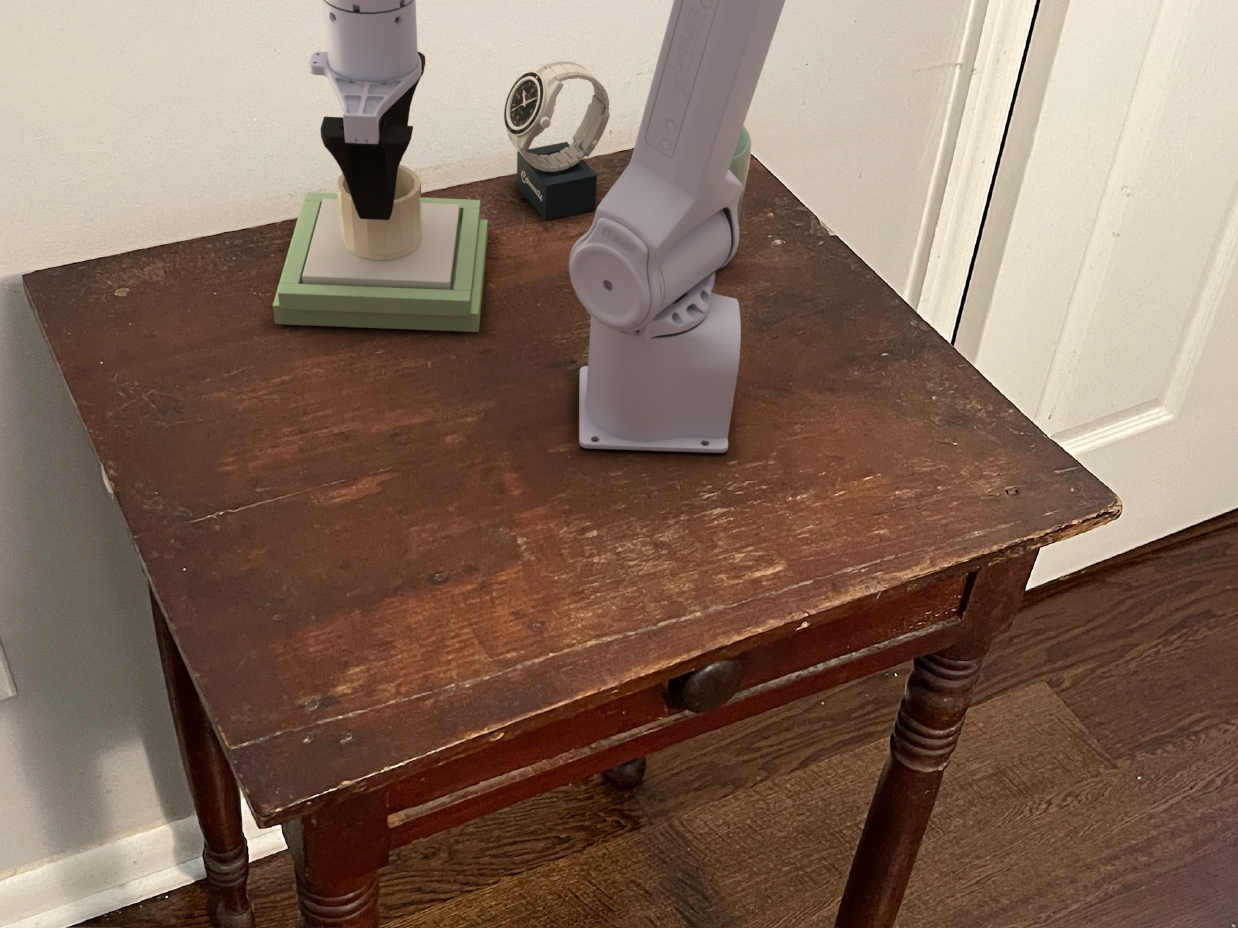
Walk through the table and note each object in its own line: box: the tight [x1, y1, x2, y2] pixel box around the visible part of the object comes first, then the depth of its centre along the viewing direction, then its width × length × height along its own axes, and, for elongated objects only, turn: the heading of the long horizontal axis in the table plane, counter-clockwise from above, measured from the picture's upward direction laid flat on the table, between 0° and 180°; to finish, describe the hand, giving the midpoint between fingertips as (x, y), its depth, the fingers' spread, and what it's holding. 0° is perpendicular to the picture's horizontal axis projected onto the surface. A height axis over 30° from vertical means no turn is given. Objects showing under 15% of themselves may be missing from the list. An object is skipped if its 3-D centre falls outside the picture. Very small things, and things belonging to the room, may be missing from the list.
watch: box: [503, 60, 611, 222], centre depth 104 cm, size 6×8×11 cm
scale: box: [272, 191, 489, 333], centre depth 97 cm, size 14×13×3 cm
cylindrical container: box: [336, 164, 423, 260], centre depth 94 cm, size 6×6×4 cm
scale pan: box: [302, 199, 460, 290], centre depth 96 cm, size 10×10×2 cm
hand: (381, 186), depth 93 cm, fingers open, 7 cm apart
